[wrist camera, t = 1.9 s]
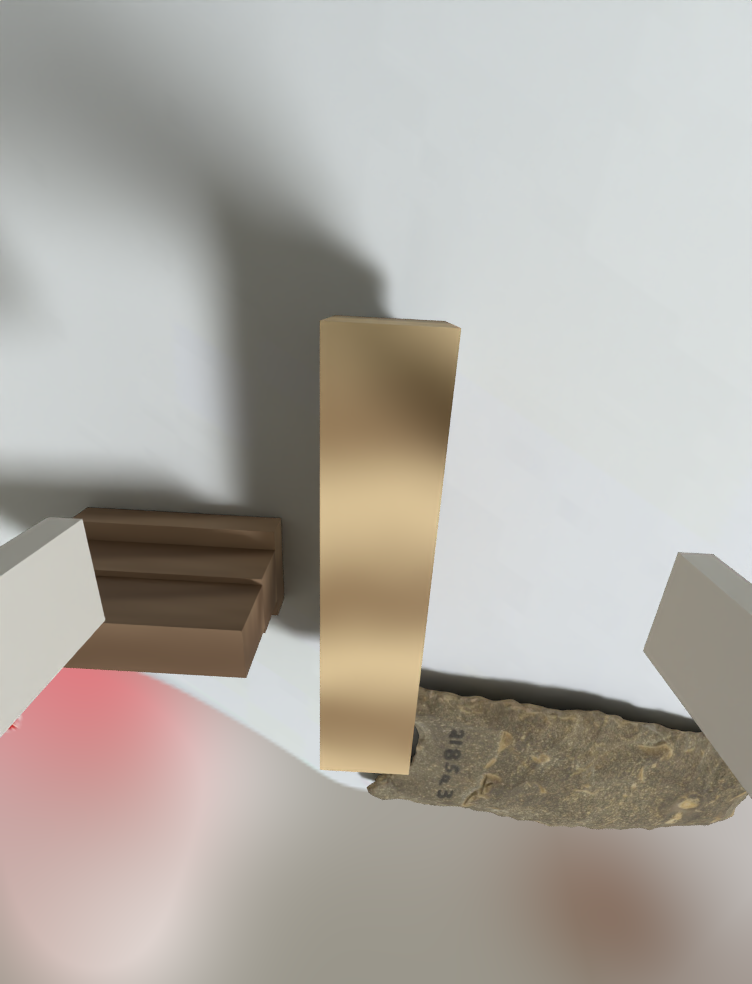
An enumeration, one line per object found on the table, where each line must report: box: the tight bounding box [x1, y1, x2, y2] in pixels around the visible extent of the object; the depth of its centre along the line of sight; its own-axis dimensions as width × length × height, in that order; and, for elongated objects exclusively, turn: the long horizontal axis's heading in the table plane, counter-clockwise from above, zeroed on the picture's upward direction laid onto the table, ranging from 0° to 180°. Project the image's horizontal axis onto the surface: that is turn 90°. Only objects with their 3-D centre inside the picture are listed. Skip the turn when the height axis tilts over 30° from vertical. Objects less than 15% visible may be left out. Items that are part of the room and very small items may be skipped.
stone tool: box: [367, 686, 748, 830], centre depth 29 cm, size 11×3×25 cm
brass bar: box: [320, 315, 461, 775], centre depth 18 cm, size 19×4×4 cm, turn 177°
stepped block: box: [64, 507, 284, 678], centre depth 21 cm, size 5×10×7 cm, turn 87°
